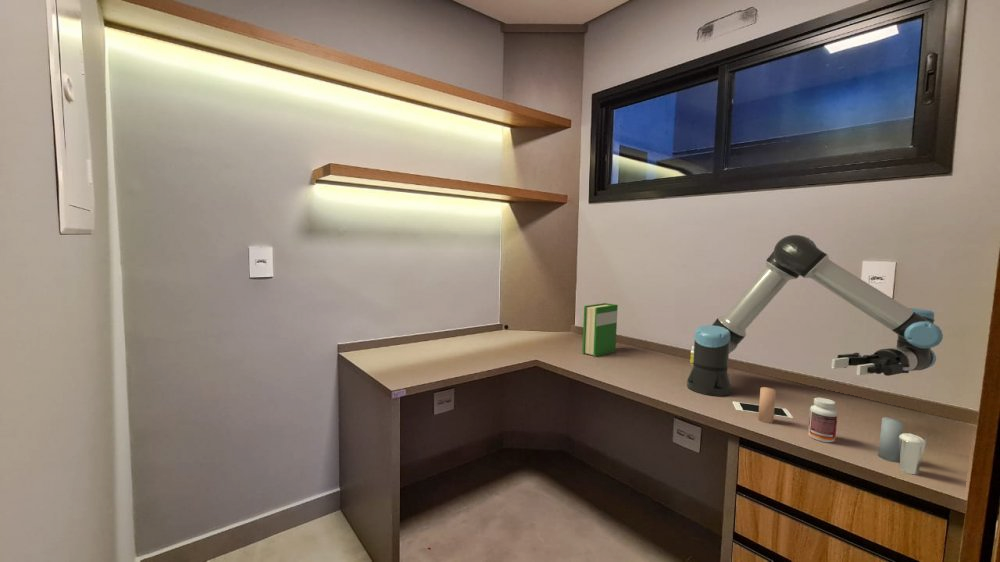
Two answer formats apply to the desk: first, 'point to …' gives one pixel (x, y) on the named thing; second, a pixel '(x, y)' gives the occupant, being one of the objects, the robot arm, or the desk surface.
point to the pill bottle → (823, 420)
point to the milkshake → (911, 452)
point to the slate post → (890, 439)
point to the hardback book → (599, 329)
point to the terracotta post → (766, 405)
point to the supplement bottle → (692, 356)
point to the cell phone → (755, 409)
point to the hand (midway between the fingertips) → (845, 367)
